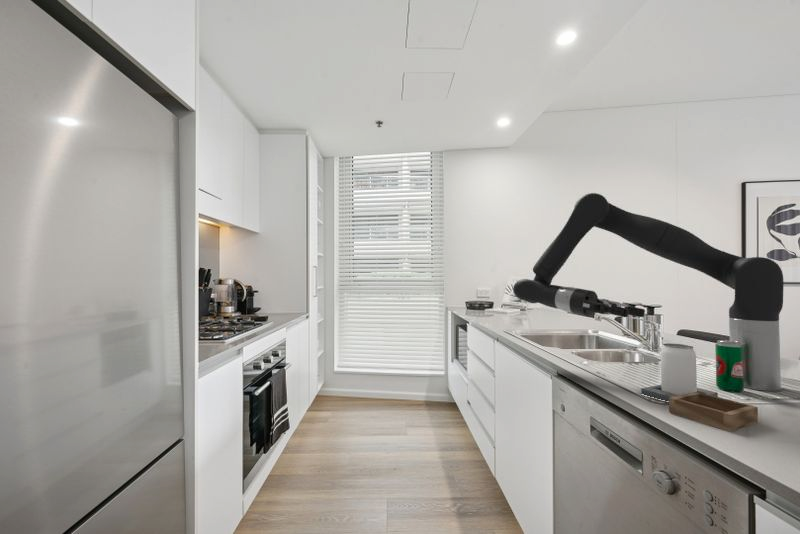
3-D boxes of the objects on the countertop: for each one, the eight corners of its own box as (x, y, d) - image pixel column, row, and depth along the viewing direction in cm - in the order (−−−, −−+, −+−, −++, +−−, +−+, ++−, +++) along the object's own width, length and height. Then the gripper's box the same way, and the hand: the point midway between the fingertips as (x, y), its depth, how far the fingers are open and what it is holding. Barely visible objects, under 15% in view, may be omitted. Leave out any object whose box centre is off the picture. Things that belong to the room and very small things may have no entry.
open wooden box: (696, 405, 77) (696, 391, 77) (758, 422, 68) (757, 406, 68) (669, 412, 73) (668, 397, 73) (730, 431, 64) (730, 414, 64)
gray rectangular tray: (673, 388, 89) (673, 382, 89) (717, 399, 81) (717, 392, 81) (641, 395, 84) (641, 388, 84) (684, 408, 75) (684, 400, 76)
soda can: (737, 394, 85) (736, 343, 85) (711, 388, 90) (710, 340, 90) (748, 391, 87) (747, 342, 87) (722, 385, 92) (721, 339, 92)
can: (703, 403, 78) (702, 348, 79) (670, 401, 80) (669, 347, 80) (686, 394, 85) (685, 343, 85) (656, 392, 86) (655, 342, 86)
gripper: (563, 287, 100) (624, 298, 86) (591, 289, 108) (651, 299, 94) (559, 313, 100) (619, 328, 87) (587, 313, 108) (646, 327, 94)
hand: (636, 313), depth 90 cm, fingers open, 8 cm apart
